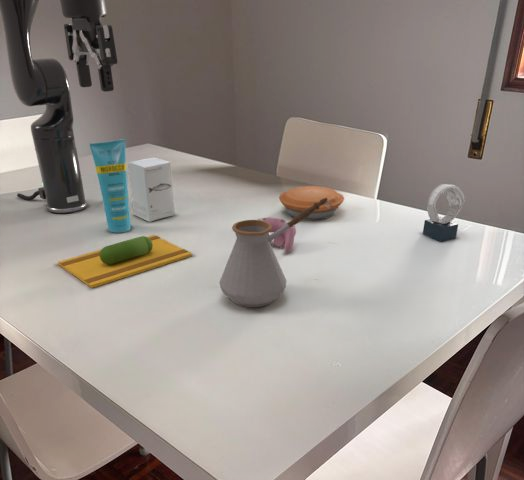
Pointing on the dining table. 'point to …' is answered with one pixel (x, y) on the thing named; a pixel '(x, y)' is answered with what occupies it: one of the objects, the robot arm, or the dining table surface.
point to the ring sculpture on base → (443, 226)
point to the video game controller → (284, 237)
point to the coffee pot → (256, 262)
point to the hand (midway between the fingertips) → (96, 88)
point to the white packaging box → (151, 188)
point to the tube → (113, 182)
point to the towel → (122, 263)
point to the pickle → (126, 250)
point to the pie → (311, 201)
